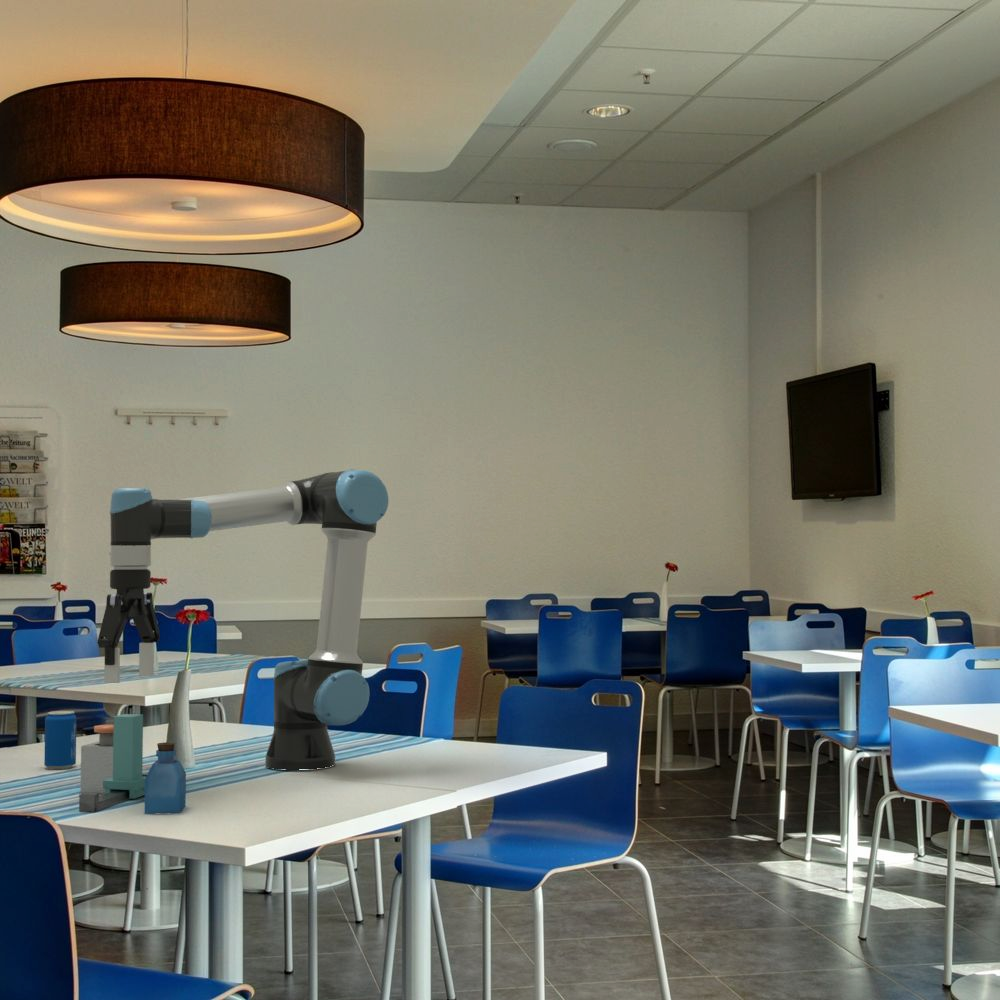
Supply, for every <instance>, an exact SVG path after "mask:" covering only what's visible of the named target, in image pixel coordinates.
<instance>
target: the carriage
mask: <svg viewBox="0 0 1000 1000" xmlns="http://www.w3.org/2000/svg"><path fill="white" fill-rule="evenodd" d="M113 725H114V733H113V778H110V779H107V780H104V781H103V789H105V794H106V793H109V792H112V791H115V790H118V789H121V790H130V791H129V798H131V799H133V800H134V799H137V798H140V797H143V796H145V778H146V777H142V773H143V755H144V754H143V753H144V752H143V750H144V749H143V747H144V745H143V743H144V741H143V739H144V736H143V735H144V733H143V732H144V714H131V713H124V714H119V715H114V716H113Z"/></svg>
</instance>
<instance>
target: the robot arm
mask: <svg viewBox="0 0 1000 1000" xmlns="http://www.w3.org/2000/svg"><path fill="white" fill-rule="evenodd" d="M388 507H389V494H388V490H387V487H386V485H385V483H384V482H383V481H382V479H380V477H379V476H378V475H377V474H376V473H374V472H371V471H368V470H365V469H348V470H343V471H335V472H334V471H333V472H332V471H331V472H325V473H322V474H317V475H315V476H311V477H307V478H303V479H298V480H291V481H286V482H284V483H283V485H282V486H278V487H271V488H262V489H255V490H253V489H252V490H244V491H239V492H238V491H237V492H230V493H229V492H228V493H222V494H221V493H218V494H212V495H203V496H194V497H188V498H187V497H184V498H178V499H177V498H176V499H157V498H153V496H152V491H151V490H150V489H149V488H142V487H141V488H139V487H123V488H121V487H119V488H116V489H114V490H113V491H112V493H111V499H110V511H109V514H110V551H109V556H110V566H111V567H112V568H113V569H111V570H110V571H109V586H110V587H109V588H110V589H111V590H112V589H113V590H116V594H107V595H106V604H105V610H104V613H103V618H102V623H101V626H100V629H99V634H98V638H97V641H96V642H97V645H98V647H99V648H100V649H101V648H104V668H103V669H104V671H103V673H104V681H103V682H104V684H105V683H106V684H120V683H121V682H120V680H121V679H120V675H121V674H120V673H121V671H120V667H121V661H120V660H121V656H120V655H121V648H120V647H118V645H119V643H120V640H121V638H122V635H123V633H124V629H125V628H126V625H127V623H128V620H129V621H130V619H132V620H133V623H134V625H135V627H136V630H137V632H138V635H139V637H140V640H141V642H139V644H138V645H139V646H138V647H139V649H138V652H139V654H138V658H139V661H138V664H139V665H138V677H154V670H155V669H154V668H155V667H154V665H155V663H154V660H155V657H154V656H155V655H154V653H155V652H154V651H155V644H154V643H159V642H160V637H161V634H160V629H159V624H158V621H157V616H156V612H155V611H156V609H155V606H154V599H153V598H154V597H153V596H154V594H153V592H145V591H144V590H146V589H147V590H148V589H150V588H151V582H152V581H151V574H152V573H151V571H150V569H149V567H150V566H151V565H152V549H151V548H152V547H151V546H152V542H151V541H152V540H155V539H181V538H182V539H195V538H196V539H197V538H205V537H206V536H207V535H208V534H209V533H210V532H215V531H223V530H230V529H236V528H238V529H239V528H246V527H253V526H260V525H261V526H262V525H267V524H268V525H269V524H274V523H275V524H277V523H285V522H287V523H288V524H289V525H291V526H294V525H295V526H296V525H304V524H307V525H308V524H309V525H313V524H314V525H321V531H322V533H323V534H324V535H325V536H326V538H327V543H326V550H325V551H326V553H325V562H324V563H325V564H324V572H323V582H322V583H323V584H322V591H321V592H322V593H321V601H320V611H319V621H318V622H319V623H318V630H317V642H316V649H315V651H314V652H313V653H312V654H311V655H309V657H308V658H307V659H302V660H301V659H299V660H290V661H282V662H278V663H277V664H276V665H275V667H274V675H273V676H274V677H273V679H272V680H273V733H272V734H271V735H272V736H271V739H270V742H269V745H268V749H267V750H266V755H265V768H267V767H269V768H274V769H286V770H299V769H317V768H325V767H330V766H332V765H334V764H335V765H336V755H335V750H334V748H333V744H332V740H331V737H330V735H329V731H328V726H346V725H349V724H351V723H353V722H356V721H357V720H358V719H359V718H360V717H361V716H362V715H363V713H364V712H365V710H366V709H367V707H368V705H369V701H370V694H371V693H370V686H369V683H368V682H367V680H366V678H365V676H363V666H364V663H363V662H364V661H363V660H362V659H361V658H360V656H359V655H358V643H359V634H360V633H359V632H360V626H361V625H360V622H361V611H362V604H363V603H362V602H363V593H364V583H365V575H366V573H365V572H366V565H367V564H366V561H367V553H368V543H369V541H371V540H372V539H373V538H374V537H375V536H376V534H377V526H378V525H377V524H378V522H379V521H380V520H381V519H382V518H383V517H384V516H385V515H386V513H387V511H388ZM269 768H268V769H269ZM330 768H331V767H330ZM274 769H273V770H274ZM325 769H326V768H325Z"/></svg>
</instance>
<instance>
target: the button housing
mask: <svg viewBox="0 0 1000 1000" xmlns="http://www.w3.org/2000/svg"><path fill="white" fill-rule="evenodd" d="M110 778H113V745H112V746H103V745H99V740H98V741H95V742H91V743H88V744H84V745H81V746H80V793H79V794H82V793H96V794H99V795H103V794H105V789H103V781H104V780H107V779H110Z"/></svg>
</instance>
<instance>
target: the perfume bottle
mask: <svg viewBox="0 0 1000 1000" xmlns="http://www.w3.org/2000/svg"><path fill="white" fill-rule="evenodd" d="M156 745H157V750H156V751H155V752H156V754H155V756H156V757H157V760H156V761H154V762H153V763H152V764H151V766H150V769H149V770H148V772H147V773H148V774H147V776H146V778H145V795H144V815H156V814H155V813H180V812H181V811H182V812H183V811H184V809H185V808H186V806H187V805H186V804H187V803H186V802H187V801H186V799H187V797H186V796H187V794H186V791H187V790H186V789H187V773H186V770H185V769H184V766H183V765H182V763H181V762H180V760H178V759H175V756H176V753H177V750H176V749H175V747H176V742H159V743H157V744H156ZM182 812H181V813H182ZM181 813H180V814H181Z"/></svg>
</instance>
